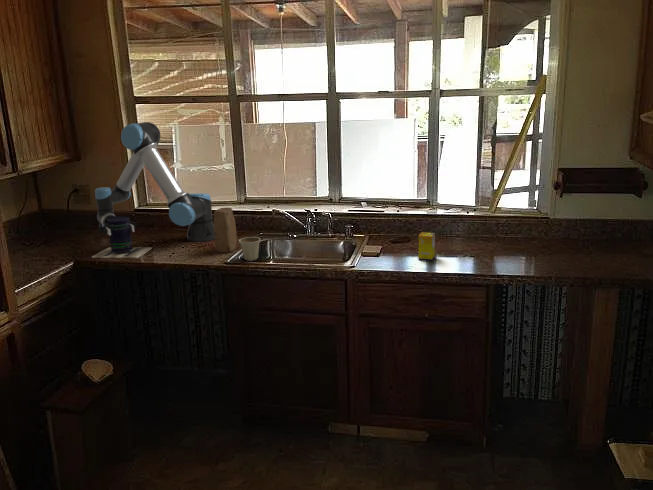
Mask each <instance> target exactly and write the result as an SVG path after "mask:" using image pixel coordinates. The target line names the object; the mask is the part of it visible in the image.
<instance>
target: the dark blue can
mask: <svg viewBox="0 0 653 490" xmlns="http://www.w3.org/2000/svg"><path fill="white" fill-rule="evenodd" d="M107 221H108V228H109V229H110V231H111V235H109V245H110V247H111V251H112V252H127V251H130V250H132V249H133V238H132V235H131V230H130V228H131V227H130V221H131V220H130V217H129V216H122V215H121V216H116V217H112V218H109V219H107Z"/></svg>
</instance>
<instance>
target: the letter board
mask: <svg viewBox="0 0 653 490" xmlns="http://www.w3.org/2000/svg"><path fill="white" fill-rule="evenodd" d="M132 247H133V246H132ZM152 249H153V247H143V246H141V247H138V246H137V247H133V249H132V250H130V251H127V252H112V251H111V246H110V247H107V248H104V249H103V250H102V251H101V250H100V251H99V252H98V253H96V254H94V255H92V256H91V258H92V259H97V258H98V259H138V258H140V257H142V256H143V255H144V254H146V253H147V252H149V251H150V250H152Z"/></svg>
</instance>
